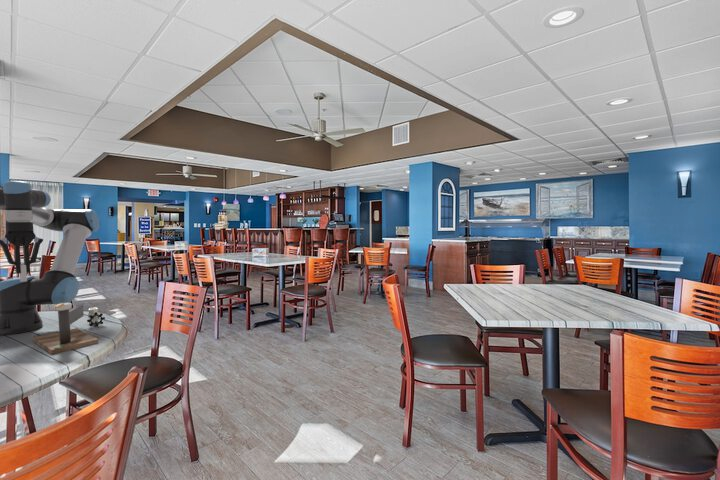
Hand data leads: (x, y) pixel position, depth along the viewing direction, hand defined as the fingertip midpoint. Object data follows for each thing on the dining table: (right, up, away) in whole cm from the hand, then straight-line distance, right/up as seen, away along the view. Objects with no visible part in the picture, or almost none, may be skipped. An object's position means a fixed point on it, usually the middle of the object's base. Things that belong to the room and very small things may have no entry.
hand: (23, 281), depth 134 cm
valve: (+9, -23, +25) cm, 35 cm away
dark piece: (+18, -23, +1) cm, 29 cm away
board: (+16, -24, +1) cm, 29 cm away
